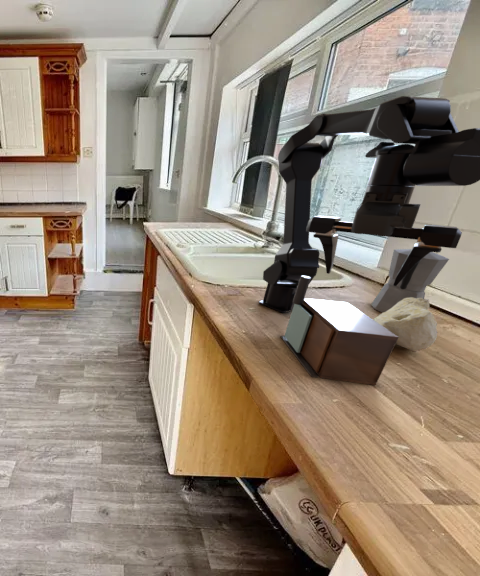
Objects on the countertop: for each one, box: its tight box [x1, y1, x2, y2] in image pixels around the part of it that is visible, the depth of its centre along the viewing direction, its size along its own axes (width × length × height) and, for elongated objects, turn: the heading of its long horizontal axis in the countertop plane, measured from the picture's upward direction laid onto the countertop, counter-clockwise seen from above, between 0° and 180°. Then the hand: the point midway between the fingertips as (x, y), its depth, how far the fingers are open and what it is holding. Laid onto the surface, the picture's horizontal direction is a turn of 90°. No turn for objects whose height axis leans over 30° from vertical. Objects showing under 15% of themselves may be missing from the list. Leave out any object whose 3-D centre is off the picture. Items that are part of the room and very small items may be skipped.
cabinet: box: [280, 297, 399, 386], centre depth 54 cm, size 13×10×9 cm
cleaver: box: [283, 275, 312, 354], centre depth 57 cm, size 6×2×13 cm, turn 171°
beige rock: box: [372, 297, 438, 353], centre depth 62 cm, size 15×7×15 cm
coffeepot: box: [370, 248, 450, 314], centre depth 74 cm, size 15×9×18 cm, turn 129°
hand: (359, 279), depth 54 cm, fingers open, 9 cm apart
